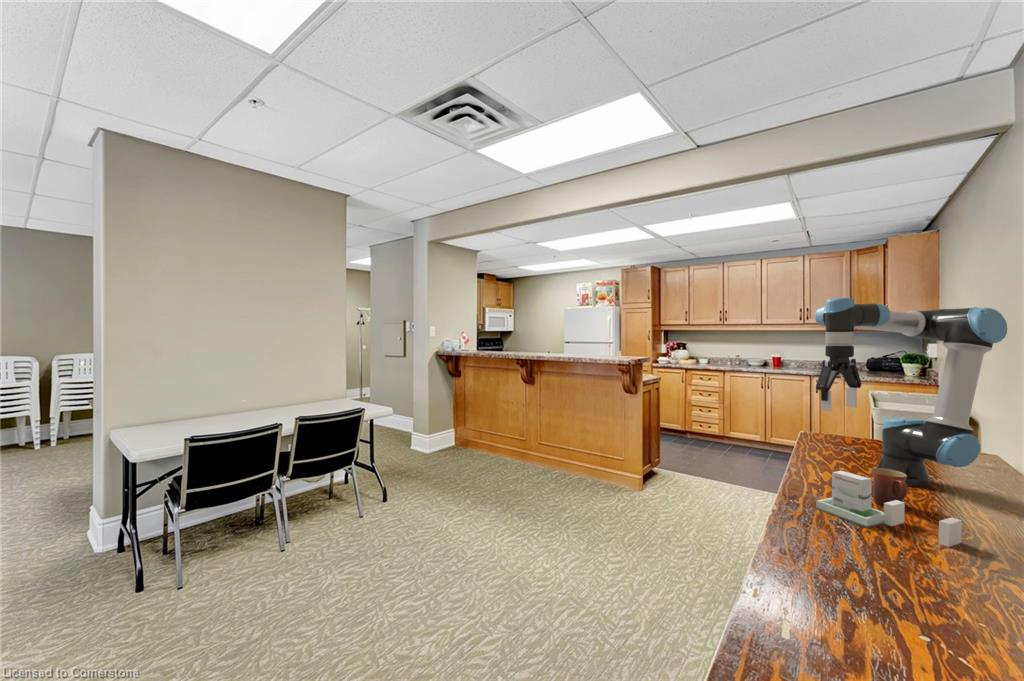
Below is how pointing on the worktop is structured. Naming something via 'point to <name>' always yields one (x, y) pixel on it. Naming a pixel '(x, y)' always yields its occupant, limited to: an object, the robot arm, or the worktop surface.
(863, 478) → the ink box
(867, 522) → the pale green tray
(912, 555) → the worktop surface
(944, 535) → the white block pair
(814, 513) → the worktop surface
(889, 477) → the mug
